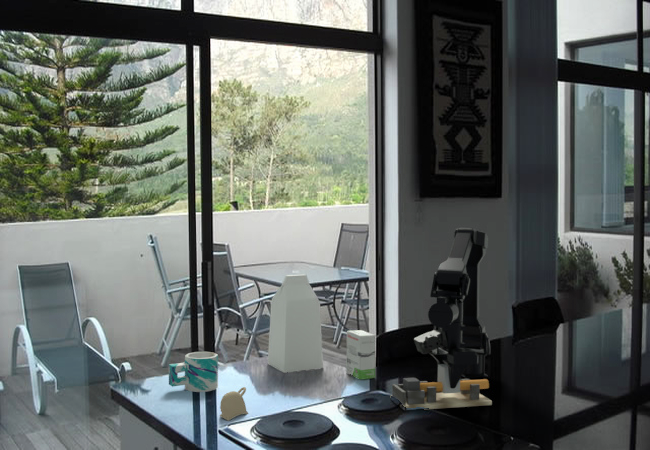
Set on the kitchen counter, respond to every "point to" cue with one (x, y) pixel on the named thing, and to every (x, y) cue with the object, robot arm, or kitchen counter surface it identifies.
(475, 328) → the robot arm
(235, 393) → the decorative ornament
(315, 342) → the milk
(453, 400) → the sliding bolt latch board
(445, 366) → the toy hammer
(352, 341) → the ink box
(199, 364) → the mug
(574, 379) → the kitchen counter surface
